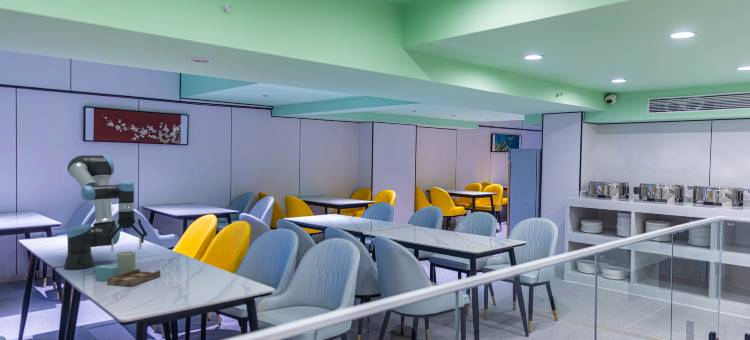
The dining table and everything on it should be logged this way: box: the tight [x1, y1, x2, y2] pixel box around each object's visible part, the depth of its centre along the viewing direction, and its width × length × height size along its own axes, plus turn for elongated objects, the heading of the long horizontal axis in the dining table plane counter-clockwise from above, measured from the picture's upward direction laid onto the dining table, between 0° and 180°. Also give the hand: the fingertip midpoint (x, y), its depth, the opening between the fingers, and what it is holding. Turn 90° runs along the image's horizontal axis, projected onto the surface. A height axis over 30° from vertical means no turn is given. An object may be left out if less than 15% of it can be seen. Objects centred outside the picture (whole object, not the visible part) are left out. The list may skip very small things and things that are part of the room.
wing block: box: [95, 264, 119, 283], centre depth 269 cm, size 10×5×7 cm, turn 76°
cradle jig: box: [106, 268, 161, 288], centre depth 269 cm, size 14×22×3 cm, turn 166°
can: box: [116, 251, 136, 274], centre depth 282 cm, size 9×9×12 cm
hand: (126, 250), depth 281 cm, fingers open, 13 cm apart
